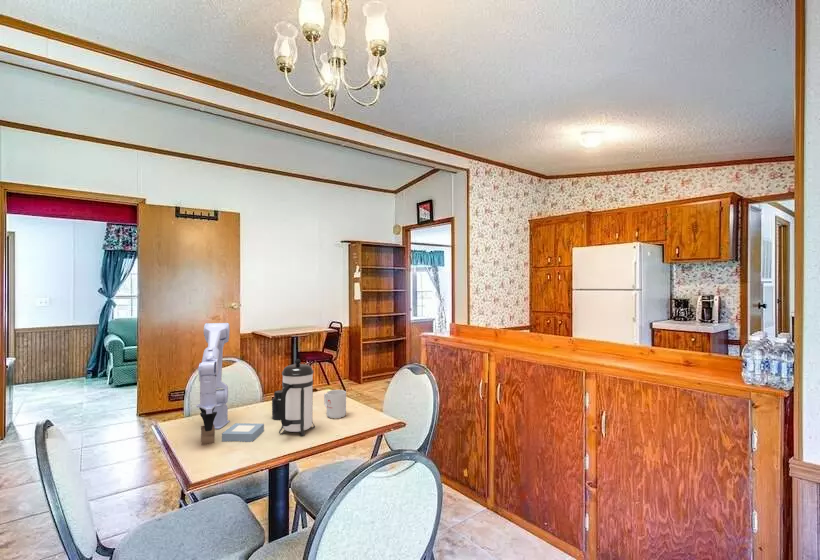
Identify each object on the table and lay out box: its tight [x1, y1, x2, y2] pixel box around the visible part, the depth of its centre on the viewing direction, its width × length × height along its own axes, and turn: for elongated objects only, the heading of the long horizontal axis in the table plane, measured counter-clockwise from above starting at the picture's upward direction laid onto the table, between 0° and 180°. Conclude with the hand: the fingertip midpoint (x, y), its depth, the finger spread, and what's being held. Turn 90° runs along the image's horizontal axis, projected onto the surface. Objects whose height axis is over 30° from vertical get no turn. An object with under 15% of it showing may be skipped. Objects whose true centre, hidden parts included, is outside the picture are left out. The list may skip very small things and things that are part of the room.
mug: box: [323, 389, 347, 419], centre depth 194 cm, size 12×9×11 cm
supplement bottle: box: [271, 389, 282, 421], centre depth 190 cm, size 7×7×12 cm
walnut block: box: [200, 424, 216, 446], centre depth 161 cm, size 4×4×6 cm
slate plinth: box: [221, 422, 265, 443], centre depth 167 cm, size 12×12×3 cm
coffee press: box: [278, 358, 316, 437], centre depth 172 cm, size 17×16×30 cm
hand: (207, 427), depth 160 cm, fingers open, 7 cm apart
